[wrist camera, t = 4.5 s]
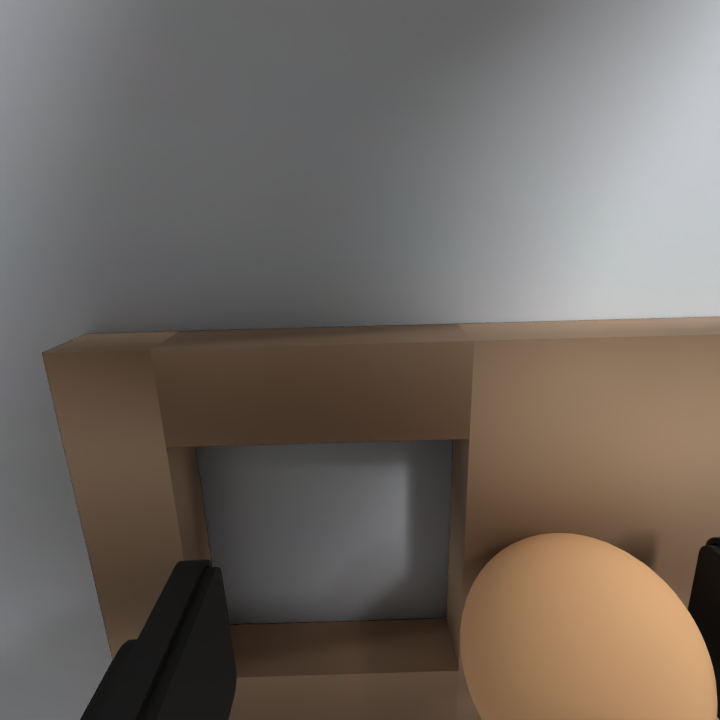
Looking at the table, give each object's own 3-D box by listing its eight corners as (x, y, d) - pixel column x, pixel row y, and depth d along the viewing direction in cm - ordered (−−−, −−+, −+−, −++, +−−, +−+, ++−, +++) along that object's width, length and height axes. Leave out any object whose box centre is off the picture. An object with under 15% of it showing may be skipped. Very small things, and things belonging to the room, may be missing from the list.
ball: (618, 475, 10) (429, 507, 9) (827, 658, 6) (525, 726, 5) (600, 616, 11) (436, 650, 11) (757, 834, 7) (515, 897, 7)
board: (86, 333, 10) (41, 352, 9) (1075, 307, 10) (1194, 321, 9) (156, 684, 13) (131, 743, 12) (926, 661, 13) (996, 715, 12)
